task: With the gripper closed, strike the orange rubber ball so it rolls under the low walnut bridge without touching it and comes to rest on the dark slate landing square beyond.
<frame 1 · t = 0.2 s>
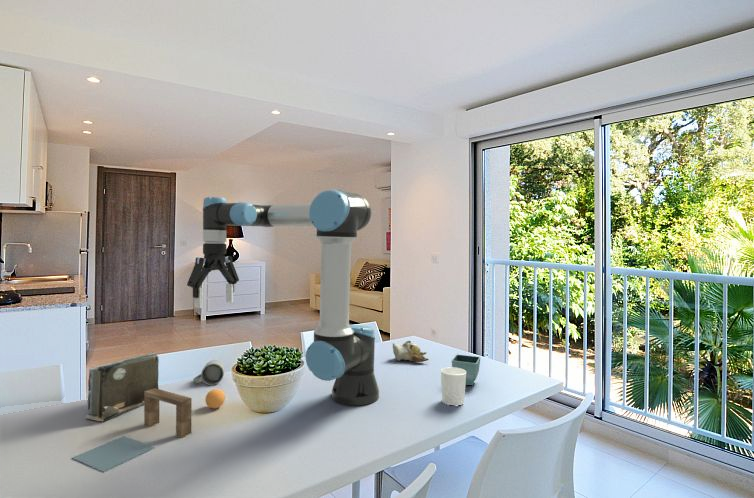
hand: (214, 304, 146), 27 cm above the table, fingers open, 13 cm apart
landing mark: (114, 453, 100), on the table
bridge: (167, 429, 112), on the table
radio: (124, 407, 127), on the table
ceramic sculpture: (409, 361, 178), on the table
ball: (215, 398, 126), on the table
ceramic mug: (209, 382, 148), on the table
flower pot: (465, 384, 151), on the table
white cup: (452, 403, 134), on the table
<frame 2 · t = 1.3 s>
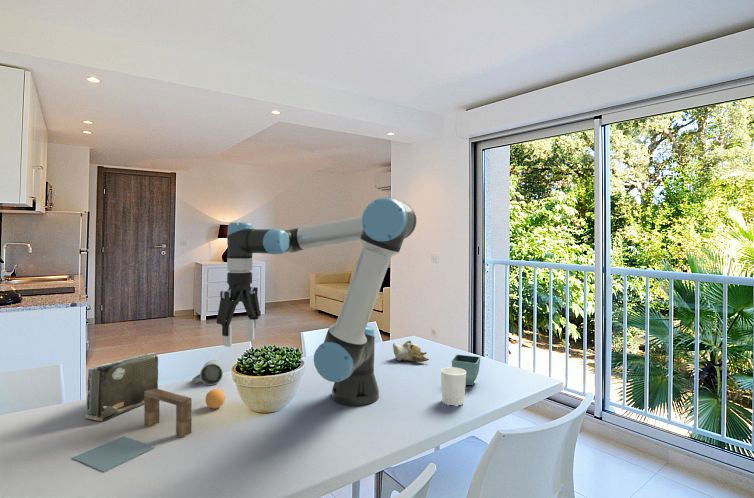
hand: (239, 342, 134), 17 cm above the table, fingers open, 9 cm apart
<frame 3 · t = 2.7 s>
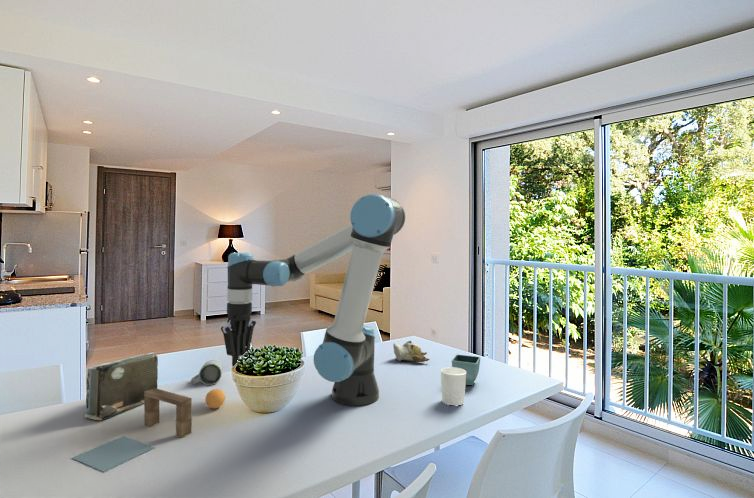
hand: (237, 375, 135), 7 cm above the table, fingers closed
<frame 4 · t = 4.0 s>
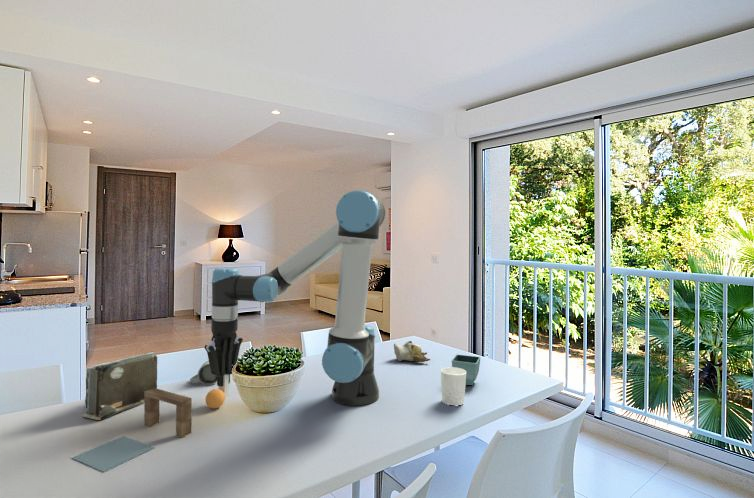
hand: (223, 395, 130), 2 cm above the table, fingers closed
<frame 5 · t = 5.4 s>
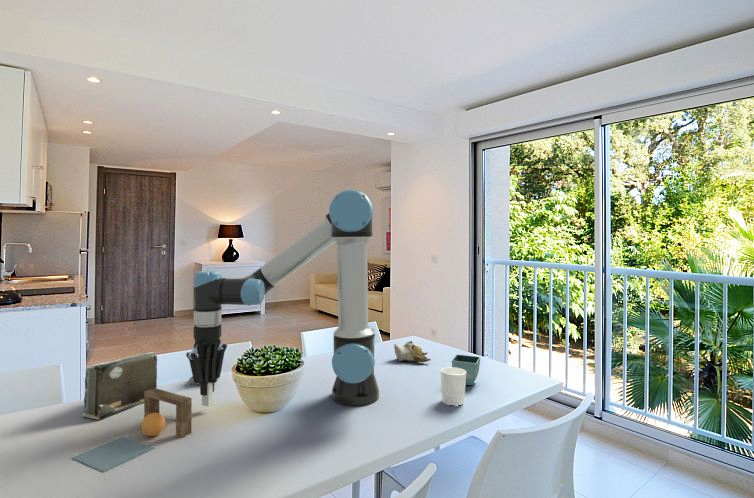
hand: (207, 404, 124), 2 cm above the table, fingers closed
ball: (153, 424, 109), on the table
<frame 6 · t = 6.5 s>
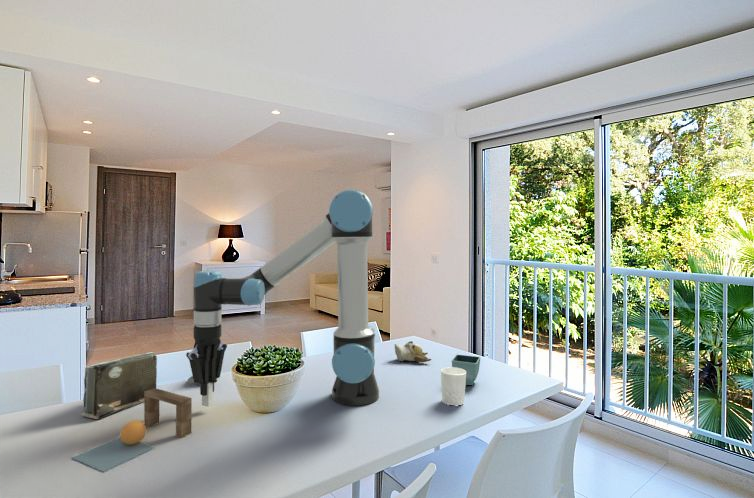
hand: (207, 404, 124), 2 cm above the table, fingers closed
ball: (133, 432, 104), on the table
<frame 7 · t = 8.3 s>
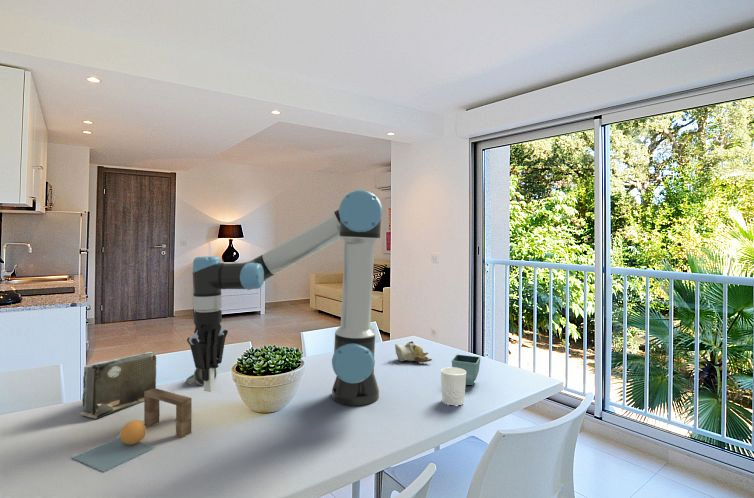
hand: (209, 390, 124), 6 cm above the table, fingers closed
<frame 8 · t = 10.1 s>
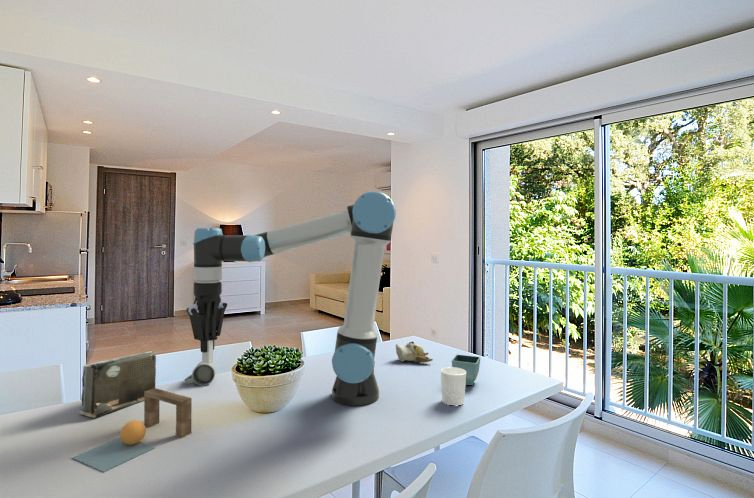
hand: (207, 362, 123), 14 cm above the table, fingers closed
at the end: ball 4.9 cm from the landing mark (horizontally); ball never touched bridge; ball at rest at the end (0.0 cm/s) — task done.
